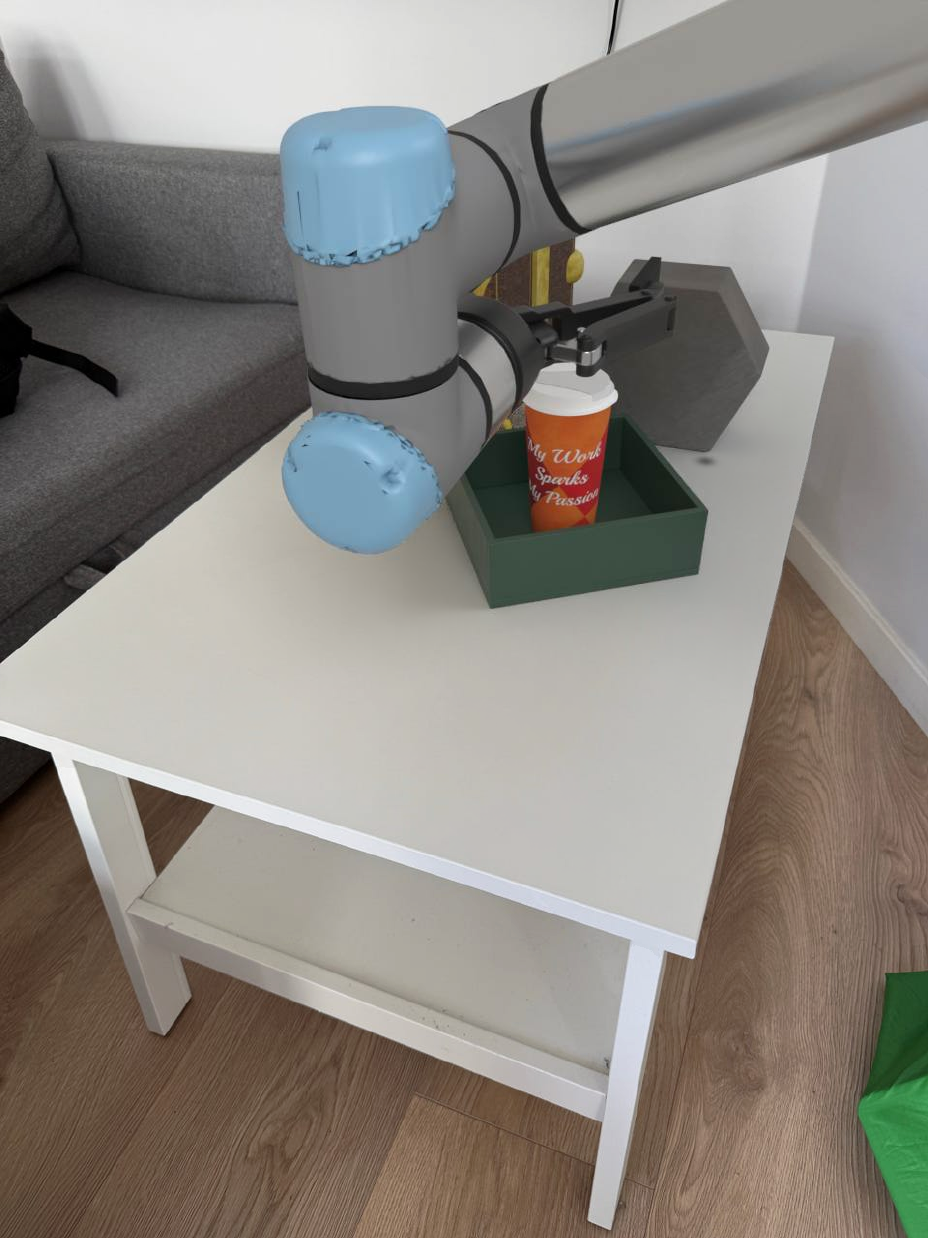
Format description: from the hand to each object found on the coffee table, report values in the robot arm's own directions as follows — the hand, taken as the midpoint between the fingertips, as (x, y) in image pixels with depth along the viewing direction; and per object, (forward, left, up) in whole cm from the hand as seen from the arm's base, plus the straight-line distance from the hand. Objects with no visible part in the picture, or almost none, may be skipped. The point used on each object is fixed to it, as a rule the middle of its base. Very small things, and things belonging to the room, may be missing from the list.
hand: (567, 266), depth 70 cm
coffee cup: (+2, -1, -25) cm, 26 cm away
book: (+36, -6, -26) cm, 45 cm away
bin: (+2, -1, -26) cm, 26 cm away
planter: (+19, -19, -26) cm, 37 cm away
